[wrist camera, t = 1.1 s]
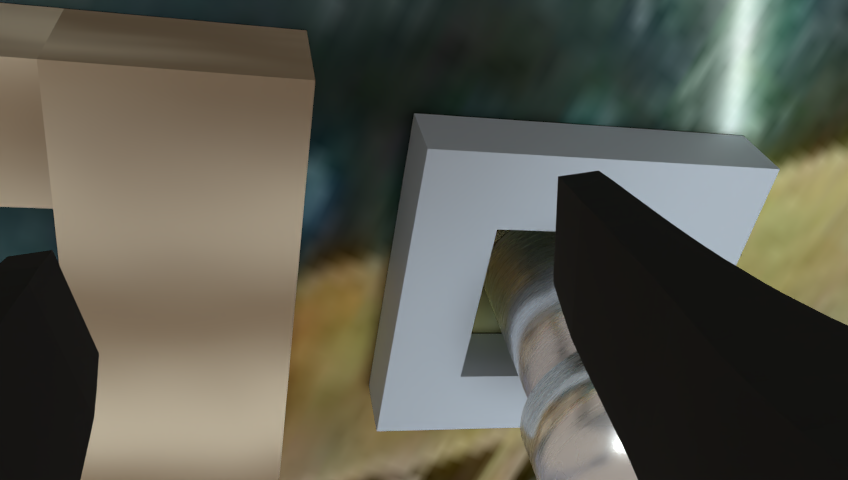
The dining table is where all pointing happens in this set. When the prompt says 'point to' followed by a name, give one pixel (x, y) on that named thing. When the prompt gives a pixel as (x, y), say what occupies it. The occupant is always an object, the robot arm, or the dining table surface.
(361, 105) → the dining table surface
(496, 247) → the steel pin
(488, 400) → the frame
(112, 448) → the dock
